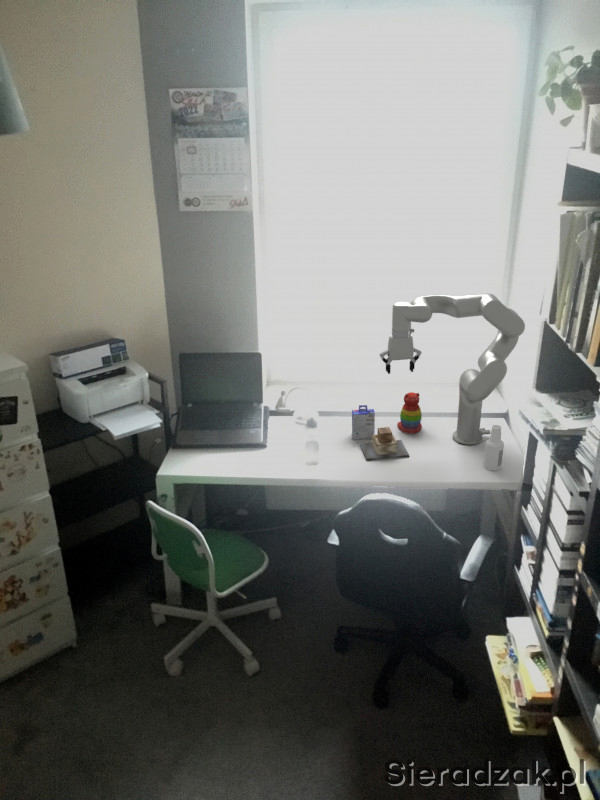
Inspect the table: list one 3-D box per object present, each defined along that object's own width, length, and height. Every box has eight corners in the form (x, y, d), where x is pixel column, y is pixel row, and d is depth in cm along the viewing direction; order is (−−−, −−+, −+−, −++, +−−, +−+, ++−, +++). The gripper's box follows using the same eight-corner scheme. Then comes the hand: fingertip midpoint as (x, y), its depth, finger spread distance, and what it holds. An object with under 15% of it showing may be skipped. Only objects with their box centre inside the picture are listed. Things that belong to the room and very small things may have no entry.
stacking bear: (420, 423, 293) (421, 387, 285) (424, 433, 283) (426, 397, 276) (396, 424, 293) (397, 388, 285) (400, 434, 283) (401, 398, 276)
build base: (400, 441, 277) (401, 429, 275) (409, 456, 266) (409, 444, 263) (360, 445, 276) (360, 433, 273) (366, 460, 264) (366, 448, 261)
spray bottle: (504, 469, 254) (509, 429, 247) (489, 472, 253) (493, 432, 245) (495, 461, 260) (499, 421, 253) (480, 463, 259) (484, 424, 251)
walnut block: (389, 437, 271) (389, 427, 269) (391, 443, 266) (392, 432, 264) (377, 438, 271) (377, 428, 268) (380, 444, 266) (380, 433, 264)
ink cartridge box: (373, 433, 286) (374, 403, 279) (375, 439, 281) (375, 409, 274) (351, 433, 286) (351, 404, 280) (352, 439, 281) (352, 410, 275)
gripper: (419, 328, 262) (417, 366, 269) (378, 331, 260) (377, 369, 268) (424, 334, 255) (422, 373, 263) (382, 337, 254) (381, 376, 261)
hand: (399, 371), depth 265 cm, fingers open, 9 cm apart
